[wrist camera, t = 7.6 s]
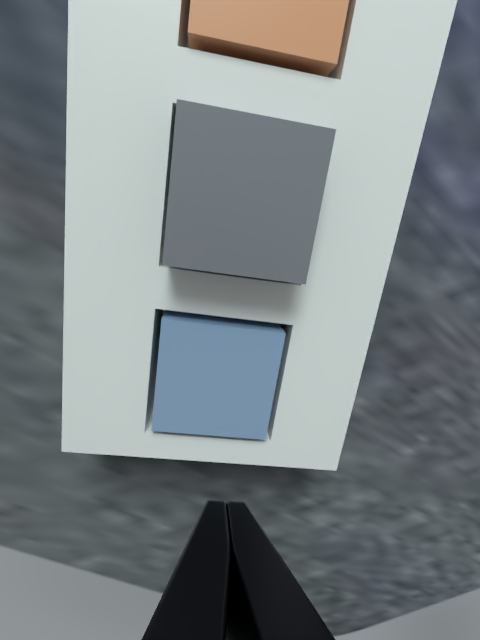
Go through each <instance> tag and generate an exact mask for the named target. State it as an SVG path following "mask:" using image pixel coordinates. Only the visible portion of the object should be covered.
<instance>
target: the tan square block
mask: <svg viewBox="0 0 480 640" xmlns="http://www.w3.org/2000/svg"><path fill="white" fill-rule="evenodd" d="M348 4H349V0H190V11H189V22H188V40H189V48H190V49H195V50H200V51H204V52H209V53H214V54H219V55H224V56H228V57H233V58H238V59H243V60H248V61H252V62H257V63H262V64H267V65H272V66H276V67H281V68H286V69H291V70H296V71H300V72H305V73H310V74H315V75H320V76H324V77H327V76H328V74H329V73H330V72H331V71H332V70H333V68H334V67H335V66H336V65H337V62H338V57H339V52H340V46H341V41H342V36H343V31H344V25H345V20H346V15H347V10H348Z"/></svg>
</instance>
